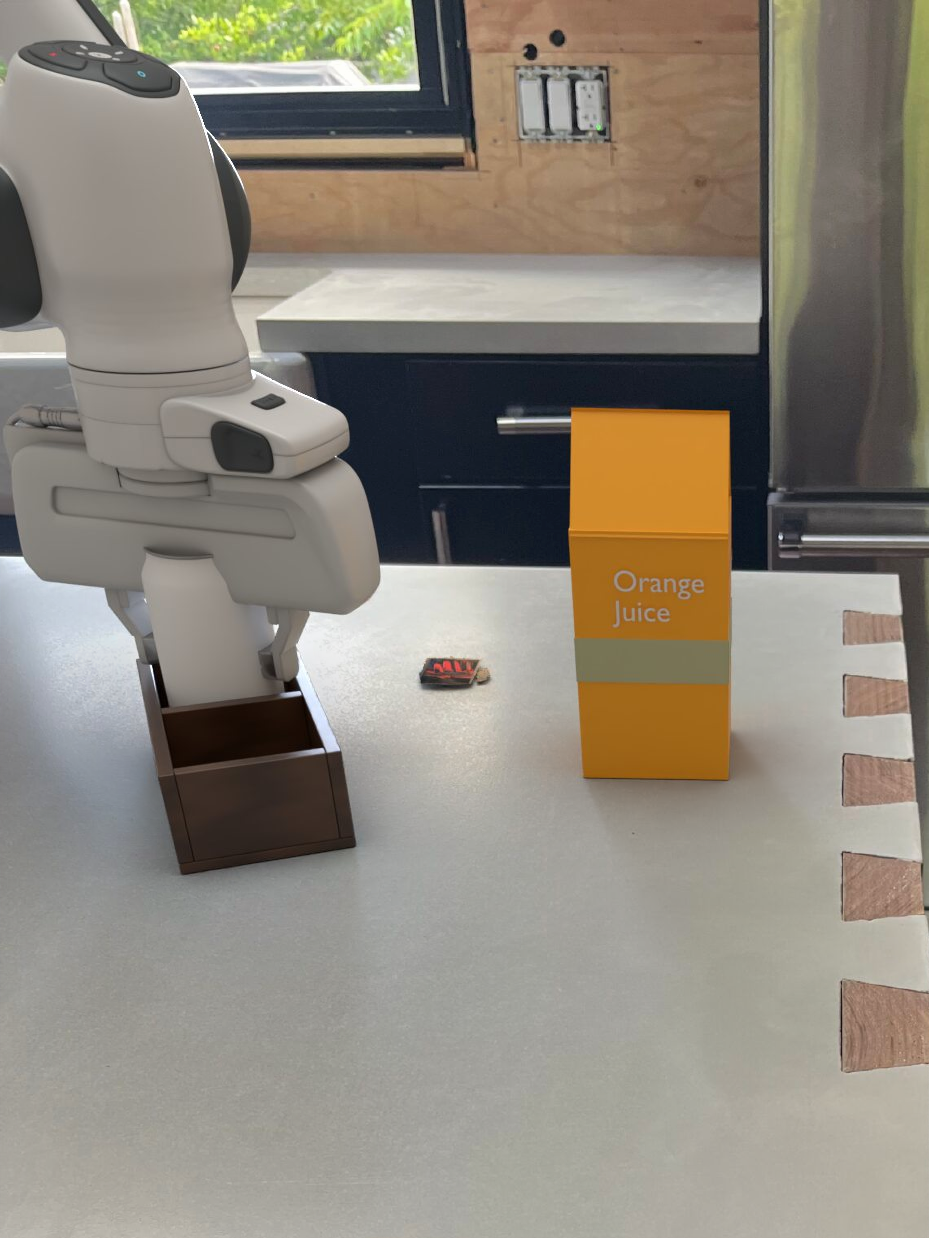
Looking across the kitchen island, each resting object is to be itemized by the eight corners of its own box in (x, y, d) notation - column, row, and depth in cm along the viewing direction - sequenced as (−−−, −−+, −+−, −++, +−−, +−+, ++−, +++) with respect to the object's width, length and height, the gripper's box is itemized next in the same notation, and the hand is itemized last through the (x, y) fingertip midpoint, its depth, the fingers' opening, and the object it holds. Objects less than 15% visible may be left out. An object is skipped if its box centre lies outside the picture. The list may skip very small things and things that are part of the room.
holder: (180, 875, 78) (157, 776, 75) (156, 746, 91) (135, 658, 88) (356, 846, 81) (341, 751, 78) (308, 726, 94) (293, 640, 91)
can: (250, 775, 85) (209, 565, 78) (155, 757, 87) (107, 550, 80) (314, 732, 90) (281, 532, 83) (223, 716, 92) (184, 518, 85)
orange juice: (729, 780, 89) (729, 427, 77) (581, 778, 89) (559, 424, 77) (732, 728, 95) (732, 395, 84) (594, 726, 95) (575, 391, 84)
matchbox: (420, 689, 99) (420, 683, 99) (417, 662, 103) (416, 655, 103) (491, 685, 100) (491, 678, 100) (485, 658, 104) (484, 651, 104)
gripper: (-44, 413, 77) (27, 669, 85) (318, 447, 74) (356, 710, 82) (33, 388, 82) (93, 632, 90) (375, 418, 79) (406, 669, 87)
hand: (221, 670), depth 86 cm, fingers closed on can, 6 cm apart
